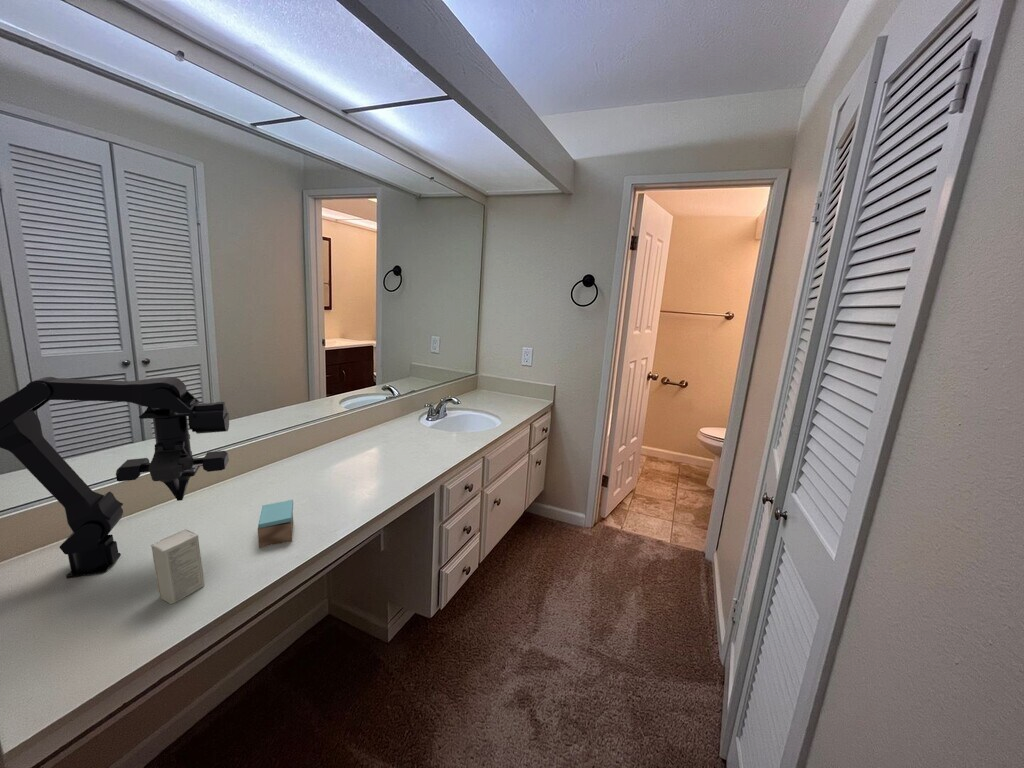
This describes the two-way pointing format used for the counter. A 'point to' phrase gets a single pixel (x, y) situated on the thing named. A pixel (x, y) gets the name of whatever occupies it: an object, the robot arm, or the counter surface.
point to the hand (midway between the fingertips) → (180, 499)
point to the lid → (276, 513)
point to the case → (275, 534)
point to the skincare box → (178, 565)
